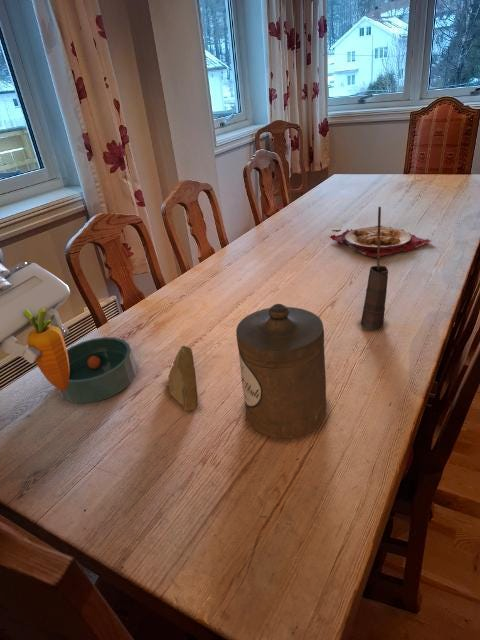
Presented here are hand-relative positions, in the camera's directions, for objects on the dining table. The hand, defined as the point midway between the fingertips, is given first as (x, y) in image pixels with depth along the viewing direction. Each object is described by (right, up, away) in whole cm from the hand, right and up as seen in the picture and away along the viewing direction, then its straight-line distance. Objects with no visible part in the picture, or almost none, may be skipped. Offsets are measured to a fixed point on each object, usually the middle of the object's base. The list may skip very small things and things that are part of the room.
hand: (51, 347), depth 64 cm
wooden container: (+37, -13, +16) cm, 42 cm away
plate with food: (+77, +31, +85) cm, 119 cm away
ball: (-5, -5, +33) cm, 34 cm away
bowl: (-3, -9, +30) cm, 32 cm away
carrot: (0, -7, +4) cm, 9 cm away
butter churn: (+60, +2, +37) cm, 71 cm away
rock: (+17, -11, +22) cm, 30 cm away
